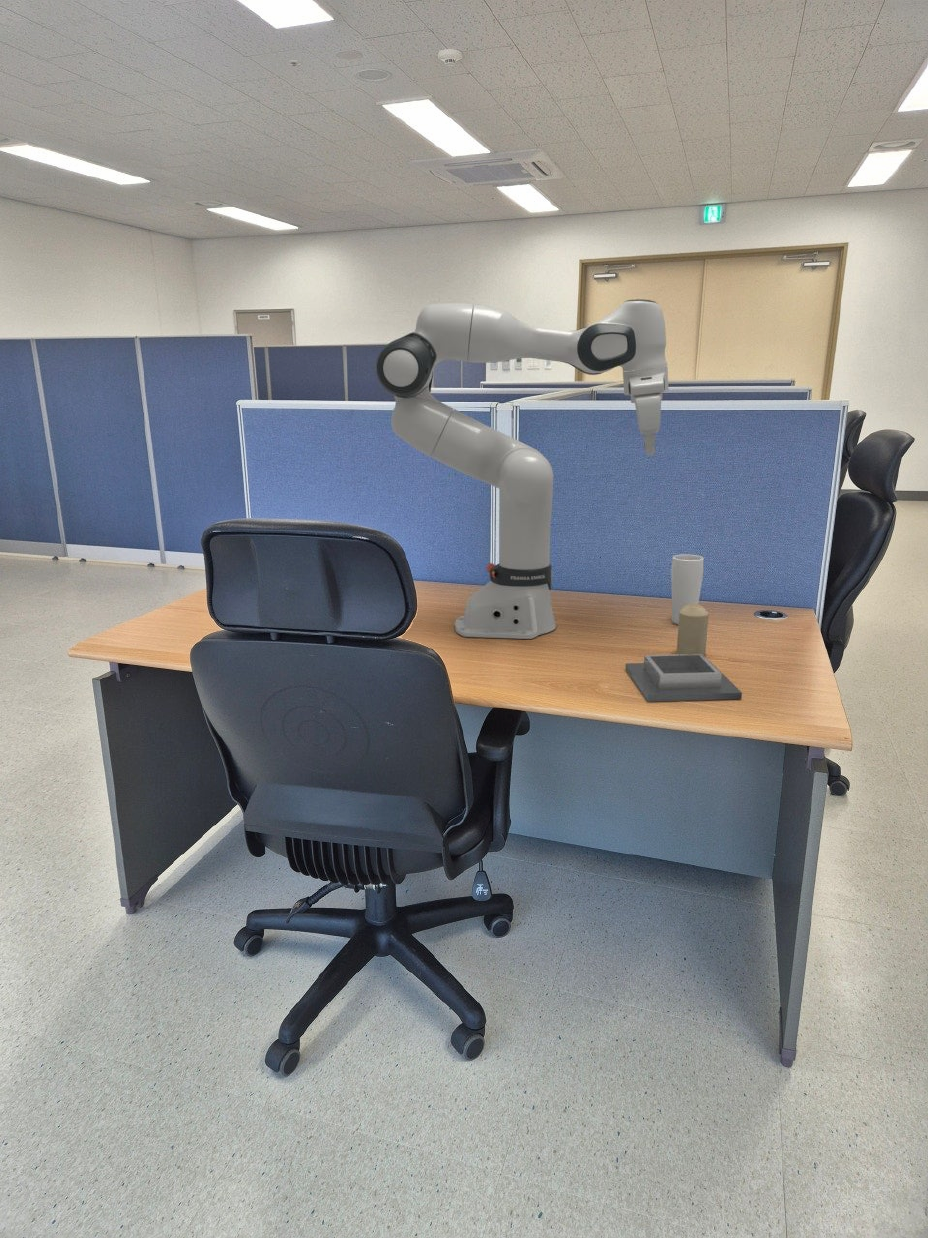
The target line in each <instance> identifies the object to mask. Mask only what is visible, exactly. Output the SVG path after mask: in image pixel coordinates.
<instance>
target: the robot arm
mask: <svg viewBox="0 0 928 1238" xmlns="http://www.w3.org/2000/svg"><path fill="white" fill-rule="evenodd" d="M664 316H665V315H664V311H663V308H662V307H661V305H660V304H659V303H658V302H656V300H655V301H654V300H651V299H642V298H641V299H640V298H639V299H628V300H625V301H623V302H622V303H621V304H620V306H619V307H617V308H616V309H614V311H611V313H609V314H607V315H605V317H603V318H601V319H599V320H598V321H595V322H594V323H592V324H589V325H587V326H585V327H581V328H579V329H576V330H575V329H574V330H561V329H554V328H548V327H538V326H534V325H530V324H527V323H525V322H524V321H521V320H520V319H518V318H517V317H515V316H514V315H512V314H511V313H510V312H508V311H506V310H503V309H499V308H497V307H493V306H489V305H485V304H477V303H470V302H441V303H440V302H439V303H430V304H428V305H426V306H425V307H423V309H422V310H421V311H420V313H419V314H418V317H417V320H416V323H415V330H414V331H413V332H409V333H408V334H405V335H403V336H402V337H399V338H397V339H394V340H393V341H391V342H389V343H387V344H386V345H385V346H384V347H383V348H382V349H381V350H380V352H379V353H378V355H377V358H376V360H375V361H376V362H375V374H376V377H377V379H378V381H379V384H380V385H381V387H382V388H383V389H384V390H385V391H386V392H388V393H389V394H391V395H393V397H394V401H395V406H394V407H393V410H392V413H391V417H390V419H391V421H390V423H391V424H390V425H391V429H392V431H393V433H394V434H395V435H396V436H397V437H399V438H400V439H401V440H402V441H403V442H405V443H406V444H407V445H409V446H410V447H412V448H414V449H415V450H417V451H419V452H420V453H422V454H423V455H426V456H427V457H429V458H432V459H433V460H436V461H437V462H439V463H441V464H443V465H444V466H445V465H446V466H448V467H449V468H451V469H453V470H455V471H456V472H457V471H458V472H460V473H462V474H463V475H466V476H468V477H470V478H473V479H476V480H478V481H481V482H483V483H486V484H488V485H490V486H492V487H494V488H496V489H499V490H498V491H499V493H498V494H499V498H498V499H499V500H498V501H499V503H498V508H499V509H498V512H499V513H498V514H499V515H498V516H499V517H498V518H499V519H498V563H497V564H494V562H489V563H488V564H487V565H486V570H487V573H489V580H490V581H488V582H487V583H486V584H485V585H483V586H481V588H479V589H478V590H477V591H475V592H473V593H472V594H471V595H470V596H469V598H468V599H467V602H466V605H465V608H464V614H463V615H461V616H459V617H457V618H456V620H455V622H454V629H455V632H456V633H457V634H458V635H460V636H462V637H464V638H465V637H466V638H489V639H490V638H491V639H493V638H494V639H518V640H519V639H520V640H521V639H522V640H523V639H525V640H530V639H534V638H536V637H538V636H539V635H544V634H547V633H551V632H552V631H554V630H555V629H556V628H557V624H556V620H555V617H554V613H553V606H552V596H551V589H552V586H553V569H552V568H553V567H552V565H551V563H550V561H551V559H550V558H551V525H552V524H551V523H552V512H553V511H552V510H553V496H554V495H553V494H554V471H553V467H552V466H551V464H550V463H551V462H549V460H548V458H546V457H545V456H544V455H543V453H542V452H540V451H539V450H537V449H536V448H533V447H532V446H530V445H528V444H526V443H523V442H521V441H520V440H518V439H515V438H514V437H511V436H509V435H507V434H505V433H503V432H501V431H499V430H497V429H495V428H493V427H490V426H488V425H486V424H484V423H482V422H480V421H479V420H476V418H475V419H474V418H473V417H471V416H469V415H467V414H465V413H463V412H461V411H459V410H457V409H456V408H453V407H452V406H450V405H447V404H445V403H443V402H442V401H440V400H438V399H437V398H435V397H434V396H433V395H432V394H431V391H432V385H433V380H434V379H433V378H434V368H435V366H437V364H439V363H440V362H444V361H459V362H468V363H476V364H477V363H479V364H485V363H486V364H487V363H488V364H490V363H491V364H492V363H500V362H507V361H511V360H518V359H537V360H542V361H543V360H544V361H551V362H558V363H565V364H568V365H569V366H571V367H572V368H575V369H576V370H578V371H579V372H581V373H583V374H585V375H589V376H596V375H601V374H603V373H606V372H609V371H611V370H613V369H615V368H617V367H621V368H622V380H623V395H624V396H630V403H631V404H634V406H635V410H636V411H635V412H636V417H637V424H638V428H639V432H640V434H641V435H642V438H643V443H644V444H643V445H644V447H643V448H644V451H645V455H646V456H647V457H649V456H655V454H656V434H657V433H659V431H660V426H661V415H662V414H661V412H662V400H663V397H664V396H663V393H665V391H668V390H669V372H668V371H669V370H668V369H669V368H668V362H667V359H666V347H667V333H666V322H665V317H664Z"/></svg>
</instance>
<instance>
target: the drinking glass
mask: <svg viewBox="0 0 928 1238" xmlns="http://www.w3.org/2000/svg"><path fill="white" fill-rule="evenodd" d="M671 558H672V559H671V560H672V561H671V566H670V567H671V569H670V580H671V581H670V583H671V585H670V586H671V589H670V591H671V622H672V623H673V624H674V625H677V626H678V625H679V611H680V610H681V609H682V608H684V607H685V606H686V605H690V604H700V603H699V601H700V597H701V596H700V595H701V589H702V583H703V576H704V560H705V559H704V556H701V555H697V554H696V555H695V554H689V553H688V554H687V553H686V554H685V553H683V554H676V555H672V557H671Z"/></svg>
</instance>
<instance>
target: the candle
mask: <svg viewBox="0 0 928 1238" xmlns="http://www.w3.org/2000/svg"><path fill="white" fill-rule="evenodd" d="M708 624H709V611H708V610H706V609H705V607H703V606H702V605H701V604H700V603H698V604H690V605H686V606H685V607H684V608H682V609H681V610H680V611H679V625H677V626H678V627H677V643H676V644H677V645H676V653H677V654H702V655H703V656H704V657H706V652H707V651H706V650H707V640H708V639H707V638H708V626H709V625H708Z"/></svg>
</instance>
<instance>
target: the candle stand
mask: <svg viewBox="0 0 928 1238" xmlns="http://www.w3.org/2000/svg"><path fill="white" fill-rule="evenodd" d="M625 671H626V673H627V674H628V676H629V677H630V679H632V681H633V682H634V684H635V686H636V687H637V688H638V690H639V692H640V693H641V695H642V696H643V697H644V699H645V701H646V702H647V703H655V702H656V703H659V702H660V703H661V702H692V701H693V702H694V701H699V702H701V701H729V700H730V701H732V700H736V701H737V700H742V696H743V693H742V691H741V690H740V689H739V688H738V687H737V686H736V685H735V684H734V683H733V682H732V681H731V680H730V679H729V678H728V677H727V676H726V675H725V674H724V673H722V672H721V670H720V669H719V668H718V667H716V666H715V665H714V663H712V662H711V661H710V660H709V659H708V658H707V657H706V656H703V655H702V654H676V653H675V654H673V653H672V654H671V653H670V654H645V655H644V656H643V662H635V663H634V662H631V663H630V662H629V663H627V662H626V663H625Z"/></svg>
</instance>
